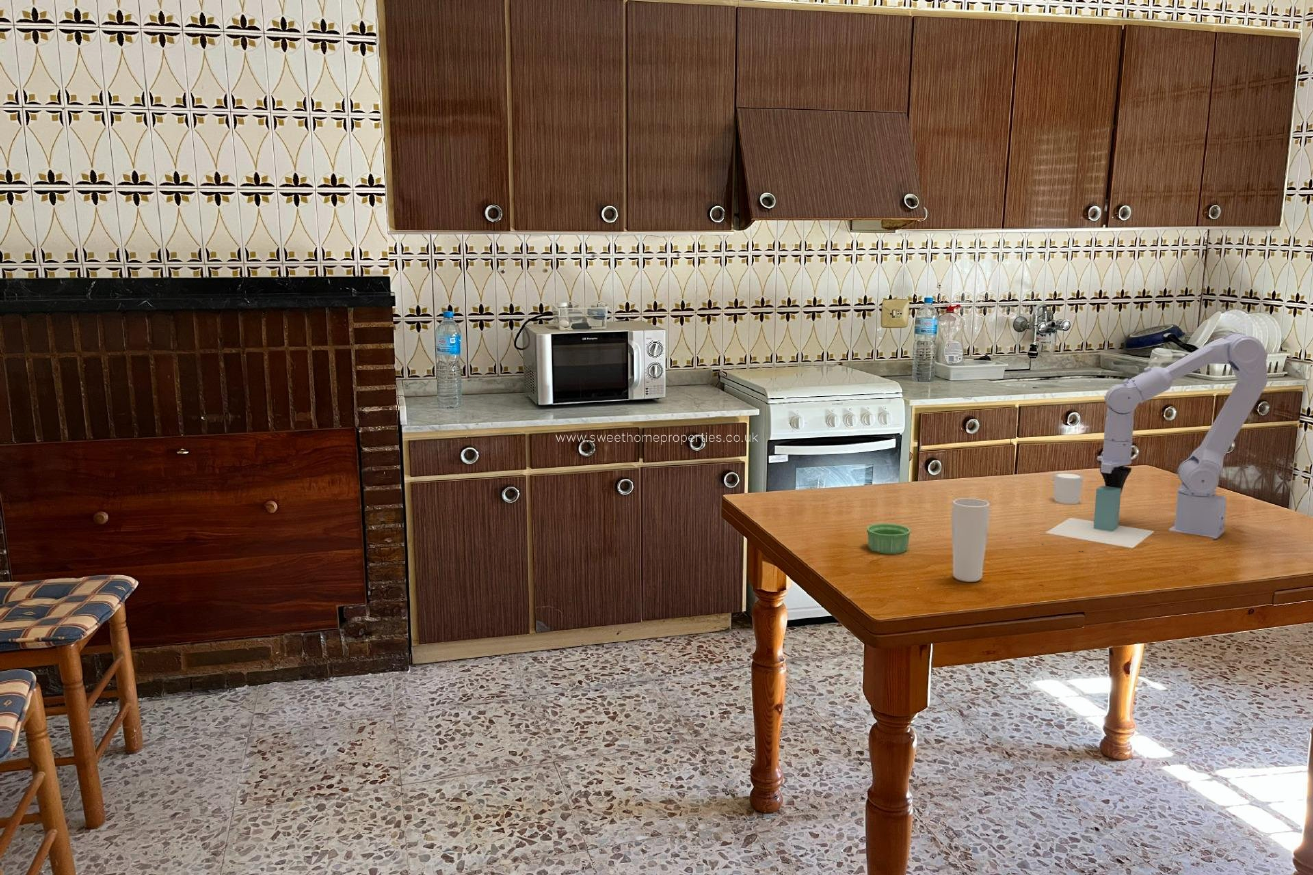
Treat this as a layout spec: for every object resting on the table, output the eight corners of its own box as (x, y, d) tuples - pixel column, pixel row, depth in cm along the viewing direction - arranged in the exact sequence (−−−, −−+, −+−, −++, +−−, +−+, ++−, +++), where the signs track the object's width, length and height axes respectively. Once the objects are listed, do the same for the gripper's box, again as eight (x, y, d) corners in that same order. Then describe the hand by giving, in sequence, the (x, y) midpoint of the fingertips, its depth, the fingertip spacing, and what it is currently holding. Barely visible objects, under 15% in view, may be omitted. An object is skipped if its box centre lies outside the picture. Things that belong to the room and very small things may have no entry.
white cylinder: (1076, 500, 251) (1078, 472, 250) (1085, 507, 244) (1087, 479, 243) (1048, 499, 252) (1049, 472, 250) (1056, 506, 245) (1058, 478, 244)
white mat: (1154, 533, 221) (1154, 531, 221) (1132, 550, 209) (1132, 547, 209) (1070, 520, 233) (1070, 517, 233) (1045, 535, 221) (1045, 532, 221)
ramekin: (915, 546, 214) (916, 526, 213) (902, 557, 207) (903, 537, 206) (874, 540, 219) (874, 521, 218) (860, 551, 211) (860, 531, 210)
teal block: (1118, 527, 224) (1121, 488, 223) (1112, 531, 221) (1115, 491, 220) (1099, 524, 227) (1102, 485, 225) (1093, 528, 224) (1096, 488, 222)
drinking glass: (978, 572, 197) (982, 497, 194) (991, 583, 190) (995, 506, 187) (944, 572, 197) (947, 498, 194) (955, 584, 190) (959, 507, 187)
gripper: (1109, 432, 231) (1105, 490, 234) (1088, 442, 221) (1083, 502, 223) (1142, 436, 227) (1137, 494, 229) (1122, 446, 216) (1117, 507, 219)
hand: (1113, 499), depth 226 cm, fingers closed
